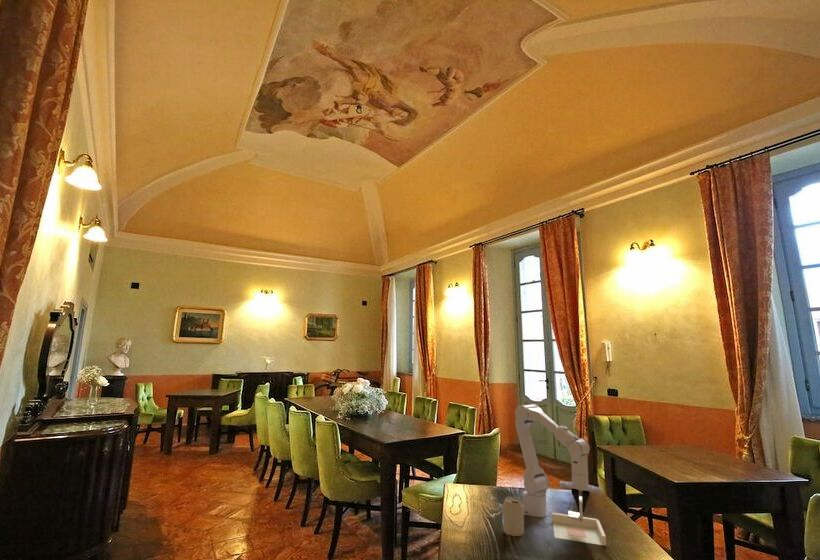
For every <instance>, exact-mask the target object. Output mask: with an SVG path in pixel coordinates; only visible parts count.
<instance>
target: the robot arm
mask: <svg viewBox="0 0 820 560" xmlns="http://www.w3.org/2000/svg"><path fill="white" fill-rule="evenodd" d="M513 413H514V416H515V422H514V423H515V429H516V433H517V438H518V441H519V445H520V449H521V453H522V456H523V461H524V464H525V465H524V466H525V471H524V472H523V486H524V487H523V488H524V489H525V490H524V491H523V492H522V504H523V505H524V516H532V517H535V518H545V517H546V516H547V490H549V488H550V480H549V478H548V476H547V475H546V473H545V470H544V469H543V468H542V467H541V466H540V464H539V461H538V456H537V453H536V449H535V445H534V441H533V437H532V434H531V430H530V427H531V425H532V424H533V423H534V422H538V423H539V424H541V425H542V426H544V427H545V428H547V429H548V430H550V431H551V432H552V433H553V435H554V438H555V439H556V440H557V441H559V442H560V443H561V444H562V445H563V446H565V447H566V448H567V450H568V453H569V455H570V461H571V481H562V480H561V481H559V489H567V490H569V489H570V490H571V495H572V497H573V499H574V502H575V504H576V507H577V512H578V513H580V511H579V496H580V495H579V494H580V491H581V494H582V511H583V513H585V509H586V505H587V502H588V500H589V498H590V493H592V494H598V495H599V496H602V494H603V493H602V487H599V486H595V485H591V484H589V467H588V466H589V465H588V464H589V461H588V454H589V453H590V450H591V447H590V444H589V443H588V441H587V440H586V439H585V438H580V437H579V436H578V435H577V434H574V433H573V432H572V431H570V430H569V428H568V427H567V426H564V425H558V424H557V423H556V422H555V421H554V420H552V418H550V417H549V415H547V413H545V412H544V411H543V409H542V408H541V407H539V406H538V405H537V404H535V403H531V404H530V403H529V404H524V405H523V404H521V405H518V406H517V407H516V409H514V412H513Z"/></svg>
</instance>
